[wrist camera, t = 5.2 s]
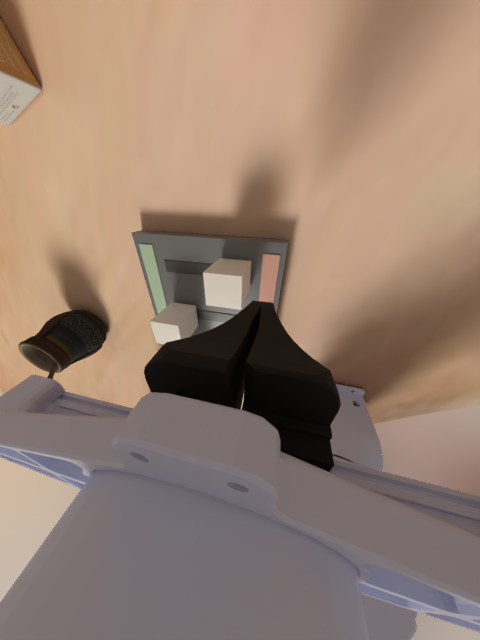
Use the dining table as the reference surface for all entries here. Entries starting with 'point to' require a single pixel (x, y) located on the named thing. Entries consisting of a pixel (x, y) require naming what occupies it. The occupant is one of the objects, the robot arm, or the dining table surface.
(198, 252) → the breaker panel
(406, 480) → the robot arm
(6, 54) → the small box
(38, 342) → the mate gourd
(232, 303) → the block
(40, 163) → the dining table surface
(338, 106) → the dining table surface
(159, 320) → the handle
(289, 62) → the dining table surface
